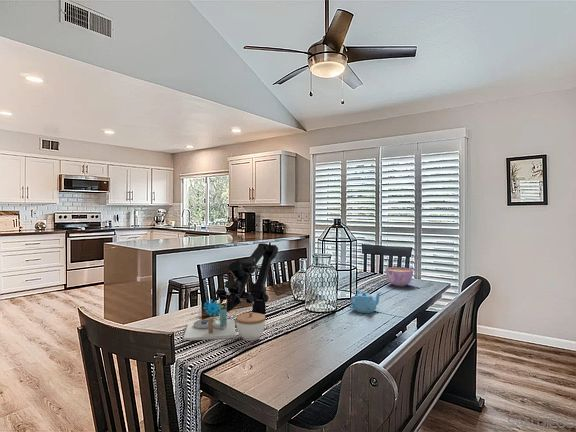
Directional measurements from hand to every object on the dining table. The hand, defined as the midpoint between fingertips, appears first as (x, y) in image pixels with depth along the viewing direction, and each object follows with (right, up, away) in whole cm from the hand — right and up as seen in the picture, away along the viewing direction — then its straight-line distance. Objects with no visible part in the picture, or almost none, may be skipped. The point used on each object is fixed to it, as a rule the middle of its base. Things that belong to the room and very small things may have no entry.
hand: (227, 311), depth 167 cm
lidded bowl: (+12, -9, -11) cm, 18 cm away
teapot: (+71, -8, +31) cm, 78 cm away
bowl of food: (+109, -6, +95) cm, 145 cm away
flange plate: (-8, -7, 0) cm, 10 cm away
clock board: (-7, -8, -2) cm, 11 cm away
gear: (-11, -8, +24) cm, 27 cm away
